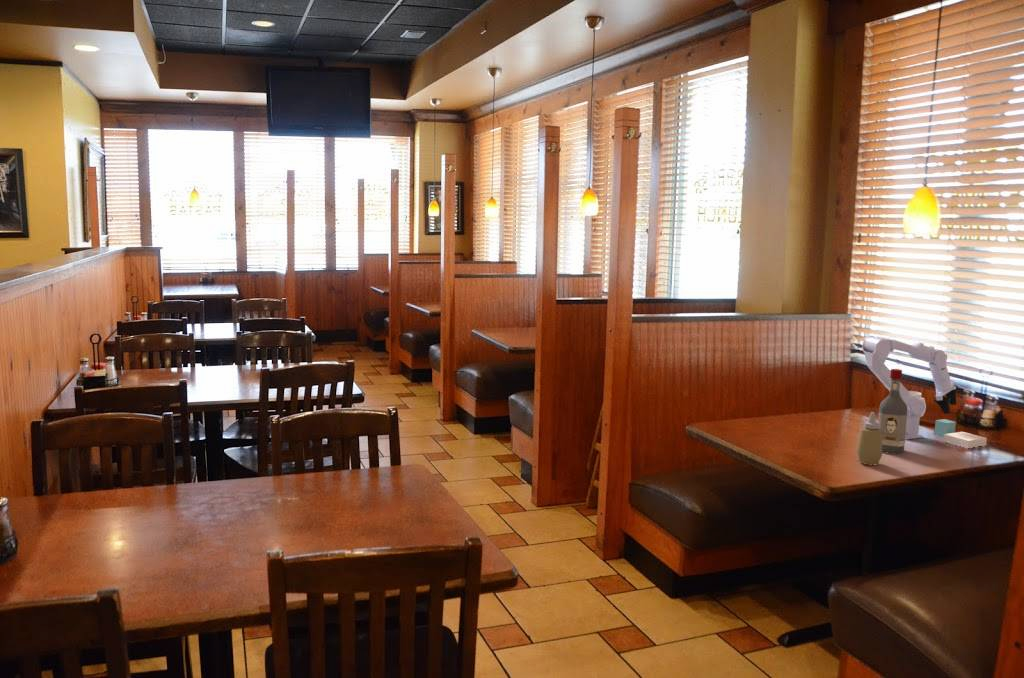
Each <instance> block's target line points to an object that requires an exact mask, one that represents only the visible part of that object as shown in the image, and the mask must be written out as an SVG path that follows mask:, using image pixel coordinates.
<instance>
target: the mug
mask: <svg viewBox="0 0 1024 678" xmlns="http://www.w3.org/2000/svg"><path fill="white" fill-rule="evenodd" d="M907 391H908V392H910V393H911V394H913V395H914V396H916V398H917V399H920V400H922V401H923V402H924V403H925V410H924V412H923V413H922V414H921V416H920V418H921V417H924V415H925V413H926V410H927V404H926V399H925V397H922V392H919V391H915V390H914V391H913V390H907Z"/></svg>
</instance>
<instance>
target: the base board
mask: <svg viewBox="0 0 1024 678" xmlns="http://www.w3.org/2000/svg"><path fill="white" fill-rule="evenodd" d="M987 440H988V439H987V437H984V436H980V435H976V434H973V433H969V432H965V431H955V433H949V434H944V438H943V443H946V442H947V444H949V443H950V445H953V446H956V445H957V447H960V446H961V447H960V448H963V447H964V449H967V450H968V448H969V449H974V448H973V447H975V448H979V447H978V446H982V447H986V446H987ZM985 445H986V446H985Z"/></svg>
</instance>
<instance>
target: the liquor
mask: <svg viewBox="0 0 1024 678" xmlns="http://www.w3.org/2000/svg"><path fill="white" fill-rule="evenodd" d="M890 371H891V374H890V378H891V387H890V391H889V392H888V393H889V394H888V395H887V396H886V397H885V398H884V399H883V400H882V401H881V402H880V405H879V408H878V419H877V423H879V429H880V430H881V431H882V453H884V452H888V453H887V454H891V453H895V454H894V455H902V454H903V453H904V451H905V442H906V439H905V432H906V420H907V405H906V403H905V402H904V401H903V399H902V398H901V397H900V393H899V390H900V383H901V379H902V377H903V370H902V369H899V368H891V369H890ZM901 453H902V454H901Z"/></svg>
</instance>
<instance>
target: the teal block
mask: <svg viewBox="0 0 1024 678" xmlns="http://www.w3.org/2000/svg"><path fill="white" fill-rule="evenodd" d="M934 424H935V425H934V433H933V434H934V436H936V435H938V436H937V437H940V436H941V438H943V437H944V434H949V433H956V426H957V421H953V420H949V419H944V418H943V419H936V420H935V422H934Z"/></svg>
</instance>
